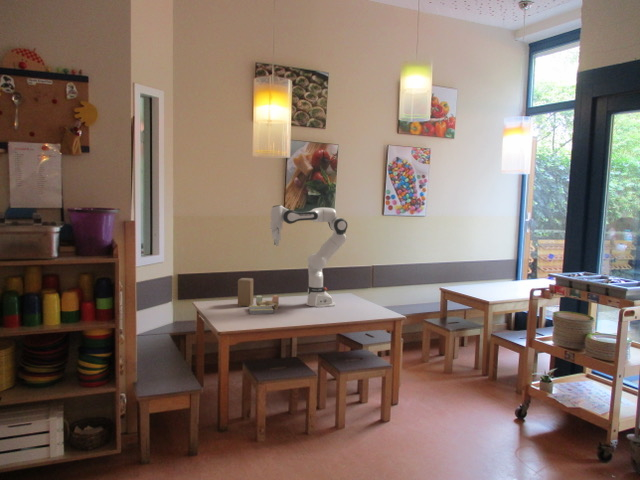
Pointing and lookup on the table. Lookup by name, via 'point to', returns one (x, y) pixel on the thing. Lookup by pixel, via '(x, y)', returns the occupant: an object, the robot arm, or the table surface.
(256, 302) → the pallet
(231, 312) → the table surface
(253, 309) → the dock
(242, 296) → the wooden block
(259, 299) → the cargo
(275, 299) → the cargo
